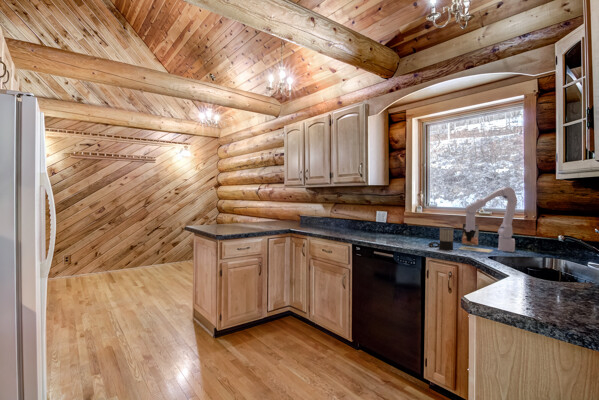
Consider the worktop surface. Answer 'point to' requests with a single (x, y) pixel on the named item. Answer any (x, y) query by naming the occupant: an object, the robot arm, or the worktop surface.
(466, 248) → the mat
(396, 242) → the worktop surface
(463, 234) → the coffee box
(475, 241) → the block
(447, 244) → the milk frother
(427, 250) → the worktop surface
